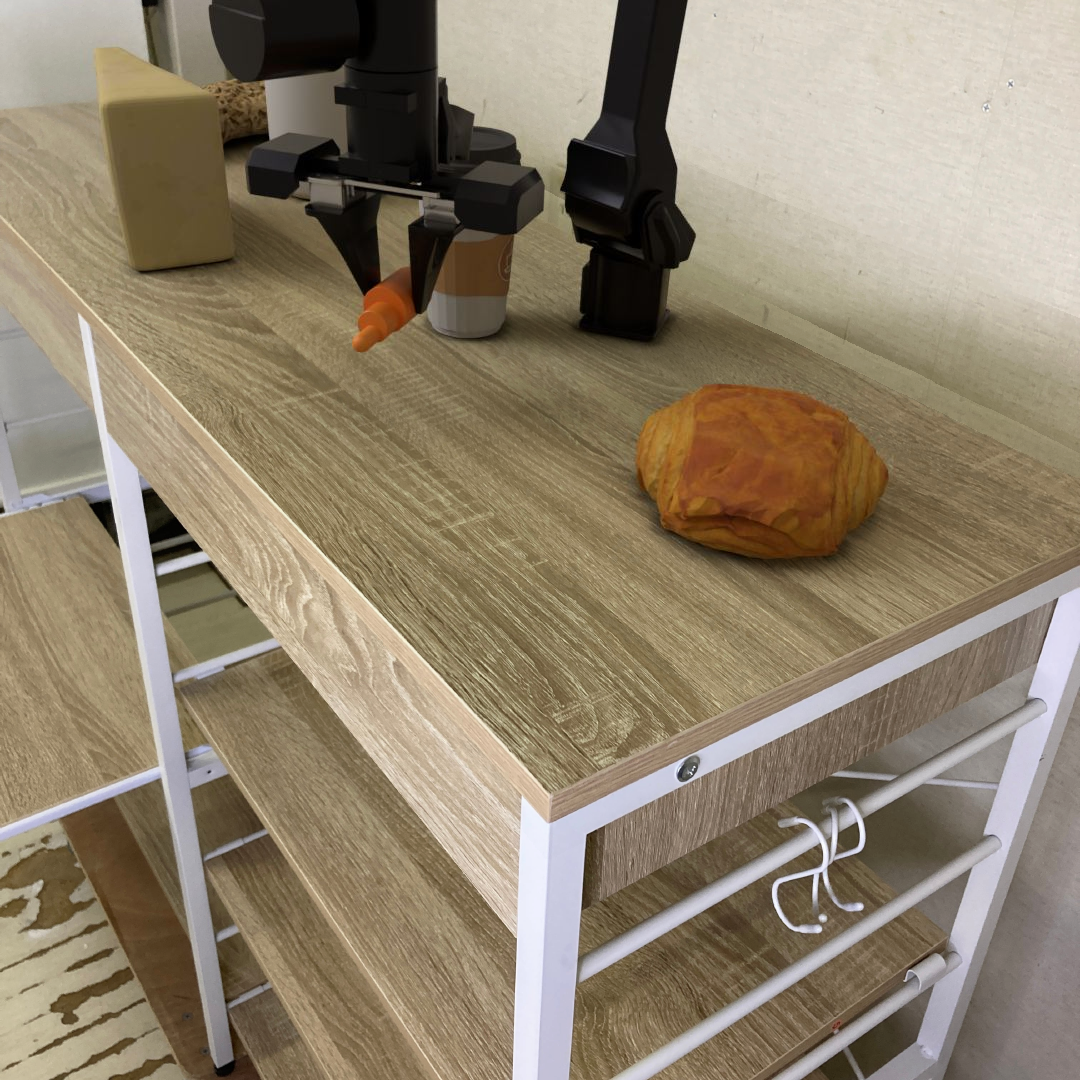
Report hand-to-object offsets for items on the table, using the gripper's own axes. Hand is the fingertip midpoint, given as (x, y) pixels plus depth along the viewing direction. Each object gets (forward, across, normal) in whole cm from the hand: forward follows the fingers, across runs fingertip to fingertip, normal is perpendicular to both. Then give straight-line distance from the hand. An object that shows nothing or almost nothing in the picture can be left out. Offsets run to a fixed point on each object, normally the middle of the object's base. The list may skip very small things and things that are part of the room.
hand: (398, 307), depth 75 cm
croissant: (+7, -26, +4) cm, 27 cm away
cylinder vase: (+7, +29, -44) cm, 53 cm away
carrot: (+1, 0, +1) cm, 1 cm away
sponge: (+7, +49, -53) cm, 72 cm away
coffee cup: (+7, +1, -15) cm, 17 cm away
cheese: (+7, +37, -23) cm, 44 cm away
